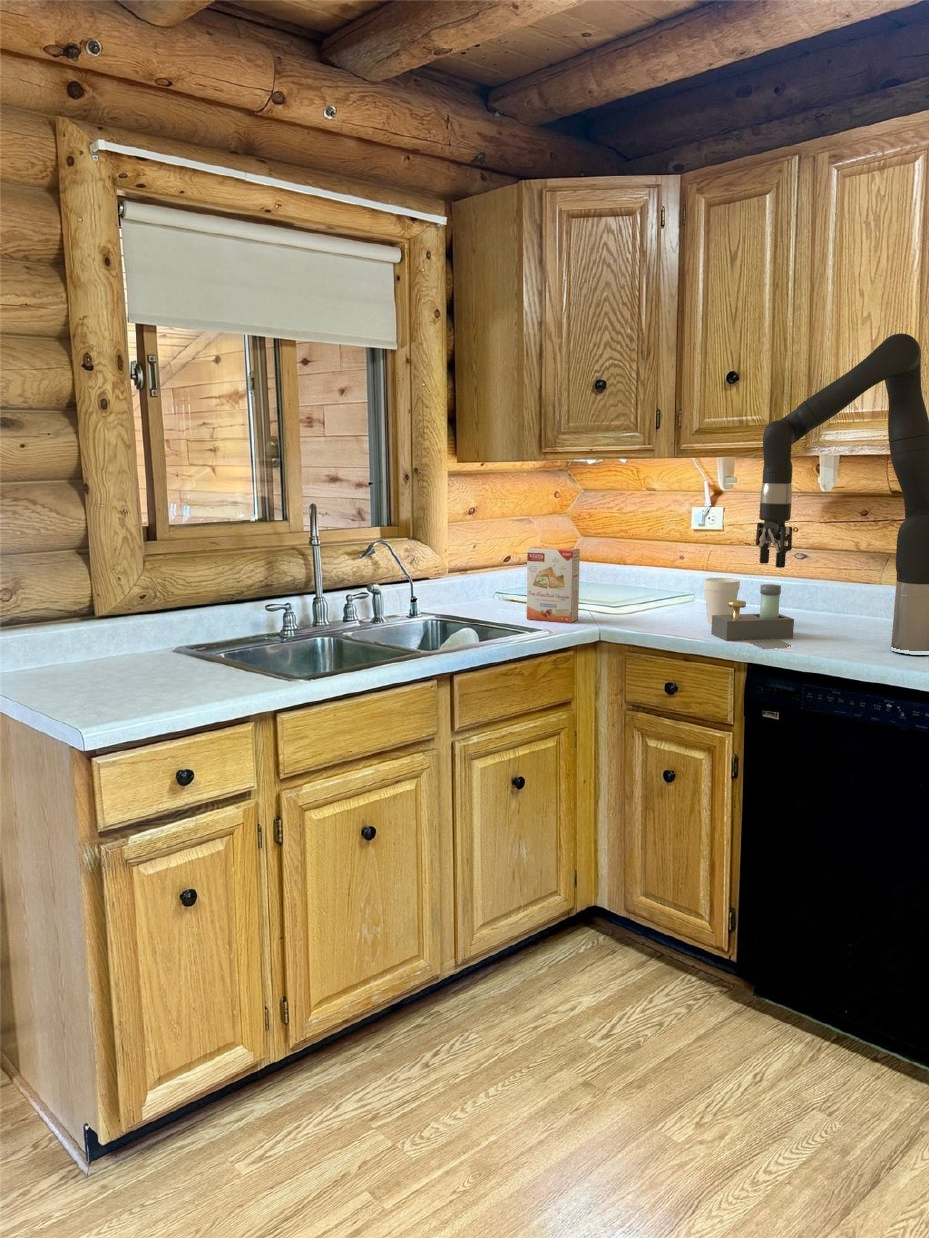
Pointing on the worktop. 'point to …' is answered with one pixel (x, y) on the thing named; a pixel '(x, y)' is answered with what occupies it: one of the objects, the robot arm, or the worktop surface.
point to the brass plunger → (736, 607)
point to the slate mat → (770, 644)
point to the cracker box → (553, 584)
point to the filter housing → (751, 627)
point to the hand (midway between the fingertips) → (771, 565)
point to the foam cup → (720, 595)
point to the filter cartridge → (769, 601)
